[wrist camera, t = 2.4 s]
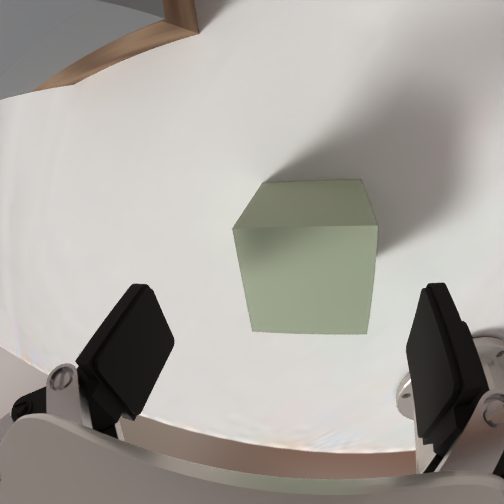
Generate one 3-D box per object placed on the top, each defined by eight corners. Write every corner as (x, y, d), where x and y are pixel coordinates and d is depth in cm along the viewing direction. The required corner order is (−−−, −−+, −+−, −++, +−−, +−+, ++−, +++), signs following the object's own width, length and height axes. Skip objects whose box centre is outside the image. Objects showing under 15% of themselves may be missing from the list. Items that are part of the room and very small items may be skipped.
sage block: (360, 178, 15) (378, 225, 10) (359, 264, 18) (366, 334, 13) (262, 182, 16) (232, 228, 11) (273, 265, 19) (252, 331, 14)
